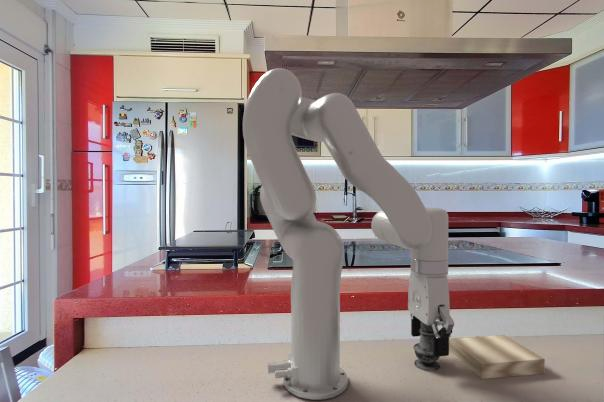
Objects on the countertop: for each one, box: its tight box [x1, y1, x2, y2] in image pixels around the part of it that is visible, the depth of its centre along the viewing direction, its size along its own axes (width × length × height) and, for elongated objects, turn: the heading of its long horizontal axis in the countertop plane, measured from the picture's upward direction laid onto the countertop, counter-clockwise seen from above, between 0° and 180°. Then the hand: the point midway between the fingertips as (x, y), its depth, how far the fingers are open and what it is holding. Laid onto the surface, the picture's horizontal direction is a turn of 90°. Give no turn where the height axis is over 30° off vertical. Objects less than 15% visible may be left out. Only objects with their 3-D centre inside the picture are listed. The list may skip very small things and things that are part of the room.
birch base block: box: [449, 334, 546, 380], centre depth 80 cm, size 14×12×3 cm
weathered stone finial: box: [412, 321, 441, 372], centre depth 79 cm, size 6×6×12 cm
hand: (428, 345), depth 79 cm, fingers open, 9 cm apart
